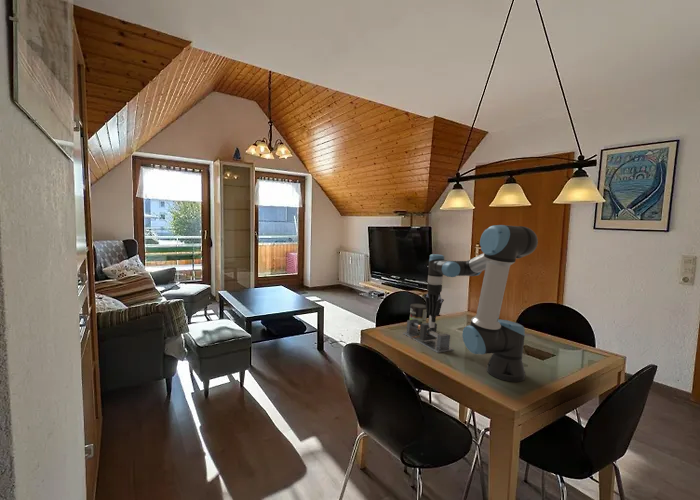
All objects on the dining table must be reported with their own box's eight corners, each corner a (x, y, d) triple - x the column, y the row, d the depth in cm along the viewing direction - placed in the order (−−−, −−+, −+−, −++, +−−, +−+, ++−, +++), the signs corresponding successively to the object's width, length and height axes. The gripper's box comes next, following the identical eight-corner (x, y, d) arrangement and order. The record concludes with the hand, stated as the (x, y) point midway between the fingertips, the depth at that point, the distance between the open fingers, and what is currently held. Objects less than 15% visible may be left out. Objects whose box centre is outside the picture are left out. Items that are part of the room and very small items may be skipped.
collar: (435, 339, 182) (436, 323, 181) (423, 340, 178) (424, 325, 177) (432, 337, 185) (433, 322, 184) (419, 338, 181) (420, 323, 180)
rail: (453, 350, 171) (454, 335, 171) (437, 352, 167) (438, 337, 166) (416, 331, 198) (417, 318, 197) (402, 333, 194) (403, 320, 193)
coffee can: (413, 331, 199) (415, 307, 198) (406, 325, 209) (407, 303, 208) (429, 330, 202) (430, 307, 201) (420, 325, 212) (422, 303, 211)
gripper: (448, 285, 173) (445, 330, 175) (432, 281, 184) (429, 323, 186) (437, 286, 169) (433, 331, 171) (421, 281, 181) (418, 324, 183)
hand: (431, 327), depth 179 cm, fingers closed
